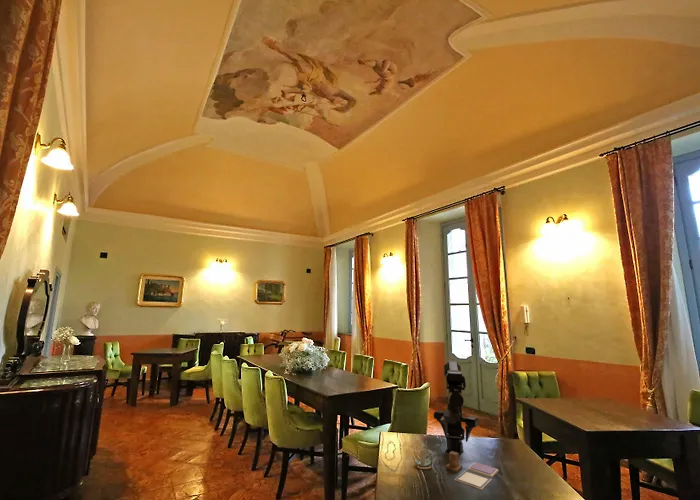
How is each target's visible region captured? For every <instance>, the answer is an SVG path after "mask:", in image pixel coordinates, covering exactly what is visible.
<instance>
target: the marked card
mask: <svg viewBox="0 0 700 500" xmlns="http://www.w3.org/2000/svg"><path fill="white" fill-rule="evenodd" d="M454 481H455V482H459V483H461V484H464V485H467V486H469V487H472V488H475V489H478V490H481V491H482V490H484V488H486V486H487V485H488V484H490V482H491V481H492V478H490V477H487V476H484V475H481V474H478V473H475V472H472V471H469V470H465V469H464V471H462V472H461V474H459V475H458V476H456V478H454Z"/></svg>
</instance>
